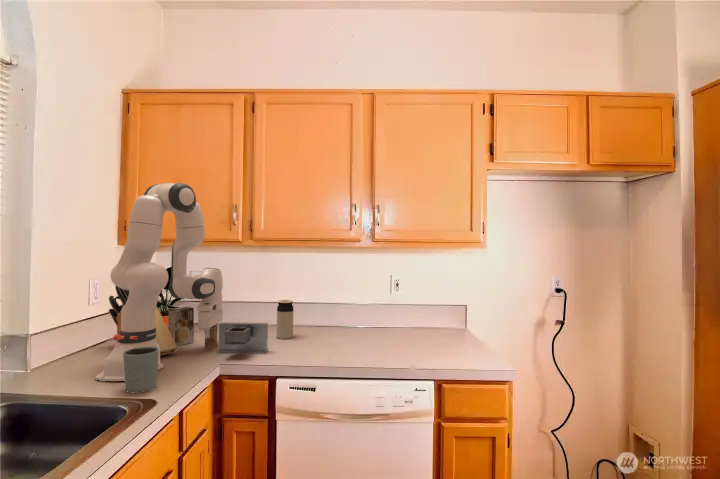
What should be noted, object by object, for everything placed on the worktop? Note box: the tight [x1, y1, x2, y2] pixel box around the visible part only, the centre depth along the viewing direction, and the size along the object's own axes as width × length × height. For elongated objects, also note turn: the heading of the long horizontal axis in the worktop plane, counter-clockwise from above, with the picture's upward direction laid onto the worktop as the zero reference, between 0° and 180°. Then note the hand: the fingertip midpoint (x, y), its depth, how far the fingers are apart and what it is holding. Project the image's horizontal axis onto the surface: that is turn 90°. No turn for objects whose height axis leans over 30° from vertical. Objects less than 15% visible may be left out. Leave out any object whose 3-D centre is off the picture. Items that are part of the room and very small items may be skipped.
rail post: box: [204, 326, 218, 349], centre depth 178 cm, size 4×4×9 cm
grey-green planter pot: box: [123, 347, 159, 393], centre depth 128 cm, size 10×10×12 cm
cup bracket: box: [216, 321, 269, 355], centre depth 168 cm, size 15×20×12 cm
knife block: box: [108, 285, 178, 357], centre depth 170 cm, size 11×35×31 cm, turn 58°
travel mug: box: [276, 299, 294, 340], centre depth 198 cm, size 8×8×18 cm
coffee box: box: [167, 306, 195, 347], centre depth 184 cm, size 9×6×16 cm
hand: (211, 335), depth 178 cm, fingers open, 7 cm apart
